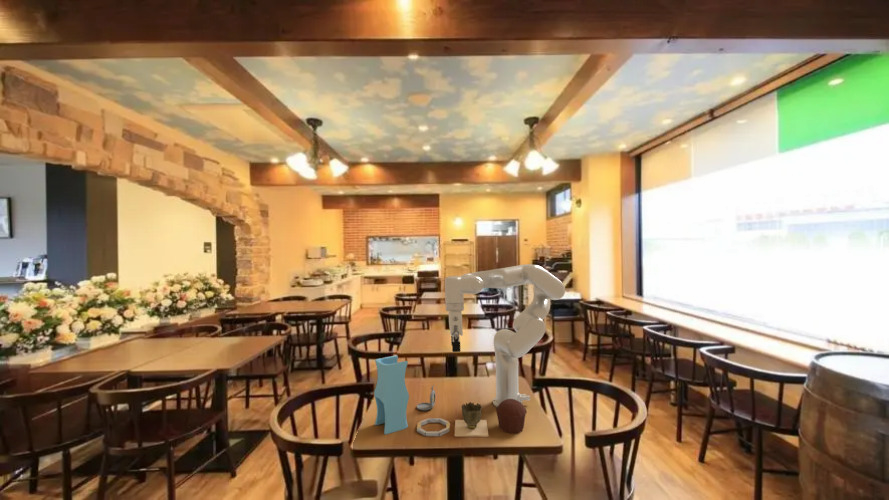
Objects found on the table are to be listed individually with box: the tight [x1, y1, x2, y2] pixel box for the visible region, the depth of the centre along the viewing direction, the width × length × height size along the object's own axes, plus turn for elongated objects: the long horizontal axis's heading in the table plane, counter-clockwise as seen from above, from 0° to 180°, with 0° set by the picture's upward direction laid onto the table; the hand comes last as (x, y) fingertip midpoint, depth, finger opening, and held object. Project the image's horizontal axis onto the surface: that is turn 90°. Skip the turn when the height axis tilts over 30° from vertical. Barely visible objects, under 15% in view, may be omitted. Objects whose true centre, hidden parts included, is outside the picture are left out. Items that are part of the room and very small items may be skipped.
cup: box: [461, 401, 483, 429], centre depth 145 cm, size 8×7×8 cm
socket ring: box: [416, 417, 451, 437], centre depth 146 cm, size 12×12×1 cm
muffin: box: [495, 399, 528, 434], centre depth 145 cm, size 12×11×10 cm
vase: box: [373, 354, 410, 435], centre depth 148 cm, size 10×10×25 cm
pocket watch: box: [416, 384, 436, 411], centre depth 164 cm, size 8×8×10 cm
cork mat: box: [454, 419, 489, 438], centre depth 145 cm, size 12×12×1 cm
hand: (455, 348), depth 160 cm, fingers open, 9 cm apart
